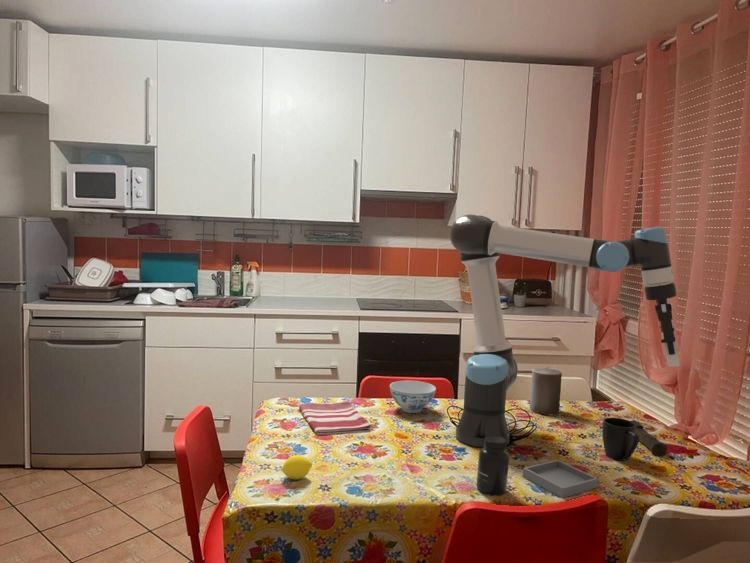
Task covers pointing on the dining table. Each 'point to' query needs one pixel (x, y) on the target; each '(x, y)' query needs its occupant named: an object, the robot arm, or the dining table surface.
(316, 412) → the dish towel
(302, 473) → the lemon
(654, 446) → the hand tool
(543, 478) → the tray
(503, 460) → the supplement bottle
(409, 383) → the chinaware
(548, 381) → the pillar candle
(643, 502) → the dining table surface
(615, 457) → the mug
